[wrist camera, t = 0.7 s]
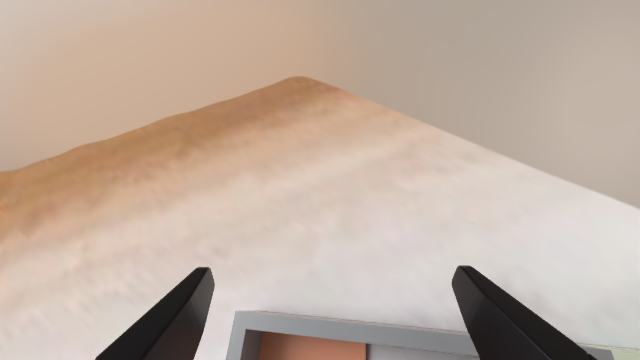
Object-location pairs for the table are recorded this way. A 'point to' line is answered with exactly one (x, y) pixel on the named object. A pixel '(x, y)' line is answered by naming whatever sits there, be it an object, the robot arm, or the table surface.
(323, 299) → the table surface
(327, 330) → the open tray box
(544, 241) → the table surface
